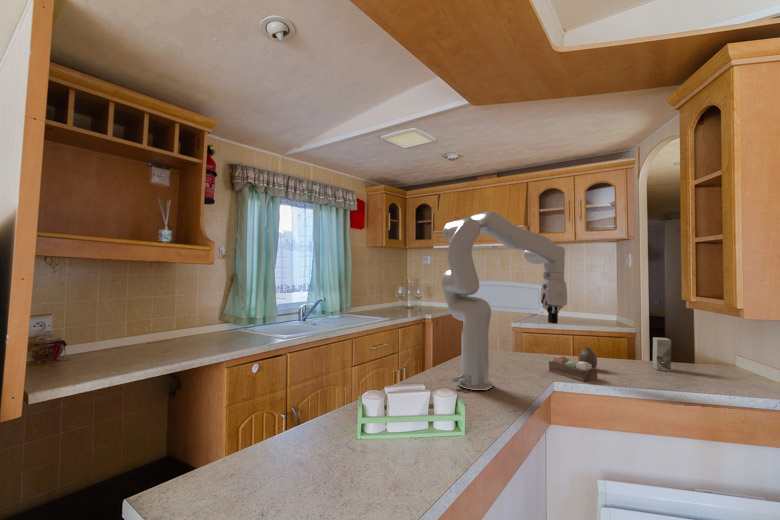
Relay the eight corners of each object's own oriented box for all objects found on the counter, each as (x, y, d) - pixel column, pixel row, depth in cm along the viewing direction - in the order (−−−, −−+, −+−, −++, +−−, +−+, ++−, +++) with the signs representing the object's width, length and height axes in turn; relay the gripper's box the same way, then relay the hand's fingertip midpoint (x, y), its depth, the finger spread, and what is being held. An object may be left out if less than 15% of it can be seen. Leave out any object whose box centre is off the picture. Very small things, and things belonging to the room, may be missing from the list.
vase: (574, 368, 150) (574, 347, 150) (585, 366, 153) (585, 345, 153) (589, 372, 144) (589, 350, 144) (601, 370, 147) (600, 348, 147)
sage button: (573, 371, 138) (573, 363, 138) (564, 368, 141) (564, 361, 141) (579, 370, 140) (579, 362, 140) (571, 367, 143) (570, 360, 143)
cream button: (585, 372, 134) (584, 364, 134) (575, 369, 137) (575, 362, 137) (591, 370, 135) (591, 363, 135) (582, 368, 139) (582, 360, 139)
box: (656, 370, 146) (656, 339, 147) (652, 367, 151) (651, 337, 151) (672, 371, 145) (671, 339, 145) (667, 368, 149) (666, 337, 149)
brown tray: (583, 382, 132) (583, 371, 132) (548, 371, 145) (548, 361, 145) (597, 379, 135) (596, 368, 136) (562, 368, 149) (562, 359, 149)
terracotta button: (562, 365, 142) (562, 358, 142) (553, 363, 146) (553, 356, 146) (568, 364, 144) (568, 357, 144) (560, 362, 147) (560, 355, 147)
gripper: (548, 276, 136) (546, 325, 136) (575, 277, 142) (574, 323, 142) (532, 276, 143) (531, 322, 142) (559, 277, 149) (558, 321, 149)
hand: (552, 322), depth 142 cm, fingers closed
